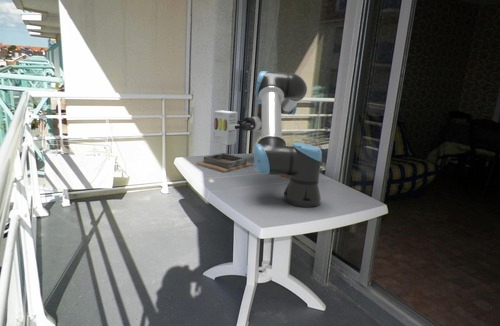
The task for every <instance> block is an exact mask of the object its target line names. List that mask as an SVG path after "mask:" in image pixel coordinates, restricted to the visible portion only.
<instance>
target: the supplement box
mask: <svg viewBox="0 0 500 326" xmlns="http://www.w3.org/2000/svg"><path fill="white" fill-rule="evenodd" d="M238 113H239V112H238V111H231V110H223V109H221V110H214V111H213V127H212V128H213V129H212V130H213V131H212V134H213V135H212V143H213V144H218V145H224V146H230V145H233V144H236V143H237V131H238V130H229V125H233V124H237V120H238V116H239V114H238Z"/></svg>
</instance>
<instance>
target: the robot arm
mask: <svg viewBox="0 0 500 326" xmlns="http://www.w3.org/2000/svg"><path fill="white" fill-rule="evenodd" d="M256 81H257V82H256V86H255V87H256V88H255V96H256V97H258V102H257V111H256V113H257V114H256V116H246V117H244V118H243V120H241V119H239V120H238V119H237V124H233V125H229V130H237V131H238V130H243V131H246V132H248V131H249V132H250V131H253V132H255V131H258V130H259V131H260V133H261V135H260V139H258V141H257V143H256V144H254V145H253V146H254V147H253V166H254V169H255V172H257V173H258V174H261V175H277V176H281V175H290V178H288V179H289V181H288V183H287V185H286V187H285V189H284V192H283V197H282V199H283V201H284V202H286V203H287V204H288V205H292V206H295V207H299V208H300V207H301V208H312V207H313V208H315V207H318V206H320V205H321V200H322V198H321V192H320V188H319V182H320V181H319V180H320V173H321V165H322V162H323V161H322V158H323V155H322V154H323V152H322V150H321V148H319V147H318V146H315V145H311V144H308V143H303V142H293V144H292V146H291V145H287V144H286V140H285V139H284V138H283V133H282V130H283V129H282V127H283V126H282V124H283V123H282V115H290V116H291V115H295V114H296V113H297V110H298V109H297V106H298V105H297V104H298V103H299V101H302V100H303V99H304V98H305V96H306V95H307V93H308V86H307V83H306V82H305V80H304V78H302V77H301V76H300V75H298V74H296V73H293V72H283V71H282V72H281V71H271V70H261V71H259V73H258V76H257V80H256Z"/></svg>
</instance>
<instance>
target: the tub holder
mask: <svg viewBox="0 0 500 326" xmlns="http://www.w3.org/2000/svg"><path fill="white" fill-rule="evenodd" d="M247 160H248V159H247V158H245V157H241V156H237V155H233V154H229V153H226V152H221V153H217V154H211V155H206V156H203V161H198V162H196V163H195V164H198V165H197V166H199V165H201V166H200V167H203V166H204V168H206V167H207V169H209V170H213V171H217V172H220V173H223V174H224V173H229V172H233V171H236V170H241V169H244V168H248V167H251V166H254V162H253V163H252V162H248V161H247Z"/></svg>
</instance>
